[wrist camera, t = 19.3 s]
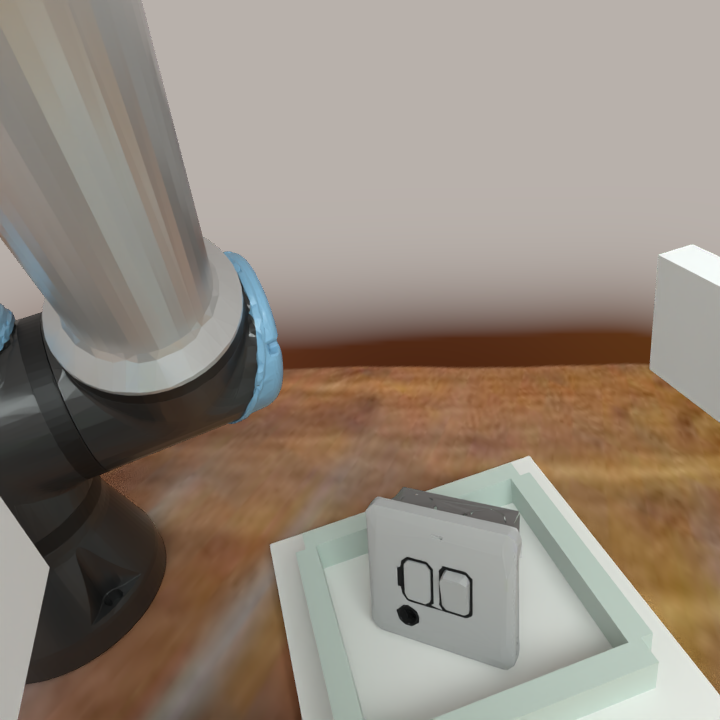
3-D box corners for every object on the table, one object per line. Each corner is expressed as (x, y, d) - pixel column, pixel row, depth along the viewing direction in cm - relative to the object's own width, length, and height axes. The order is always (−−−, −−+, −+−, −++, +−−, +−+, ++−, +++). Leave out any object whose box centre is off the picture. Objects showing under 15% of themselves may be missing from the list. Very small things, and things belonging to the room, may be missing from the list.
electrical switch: (371, 629, 40) (351, 521, 36) (403, 571, 44) (388, 467, 40) (515, 678, 36) (511, 561, 32) (536, 609, 40) (535, 497, 36)
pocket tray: (273, 552, 49) (261, 522, 47) (529, 464, 51) (528, 432, 50) (336, 887, 30) (320, 858, 28) (731, 722, 33) (740, 686, 31)
